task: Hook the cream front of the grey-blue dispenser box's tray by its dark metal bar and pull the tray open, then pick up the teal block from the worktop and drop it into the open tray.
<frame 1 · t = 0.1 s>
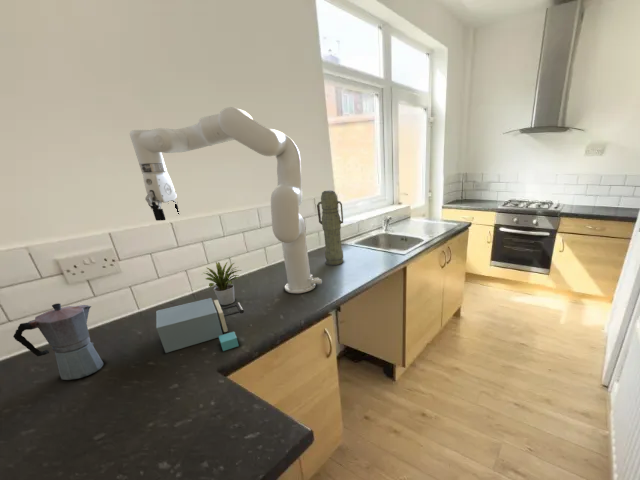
hand: (168, 217, 119), 31 cm above the countertop, tool pointing down, fingers open, 9 cm apart
thermos: (334, 262, 162), on the countertop
house plant: (226, 303, 122), on the countertop
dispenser: (193, 335, 102), on the countertop
drawer: (208, 318, 103), point 4 cm above the countertop, slide at 0.5 cm
teal block: (229, 345, 96), on the countertop
moka pot: (82, 372, 86), on the countertop
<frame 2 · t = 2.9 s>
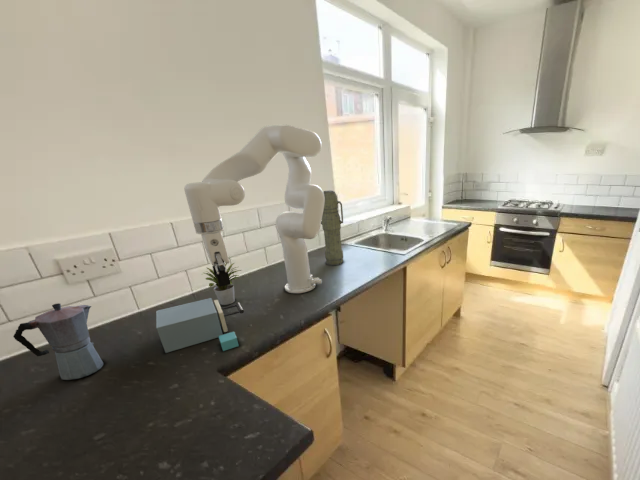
hand: (222, 280, 101), 16 cm above the countertop, tool pointing down, fingers open, 7 cm apart
nothing on the countertop moved.
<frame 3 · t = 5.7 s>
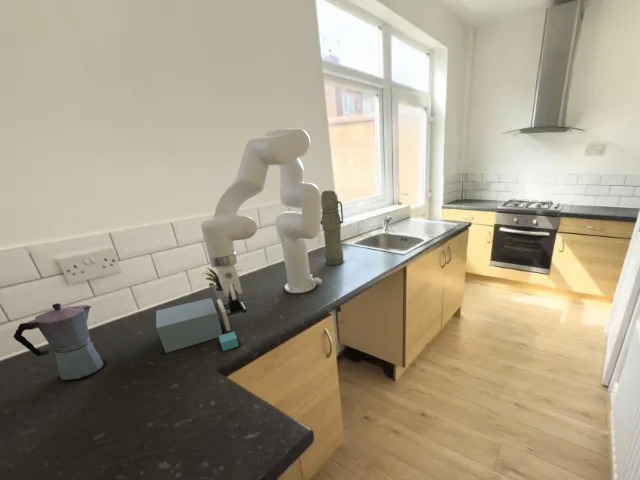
hand: (235, 311, 107), 4 cm above the countertop, tool pointing down, fingers closed
drawer: (211, 317, 103), point 4 cm above the countertop, slide at 1.4 cm, touching gripper
everything else where it was.
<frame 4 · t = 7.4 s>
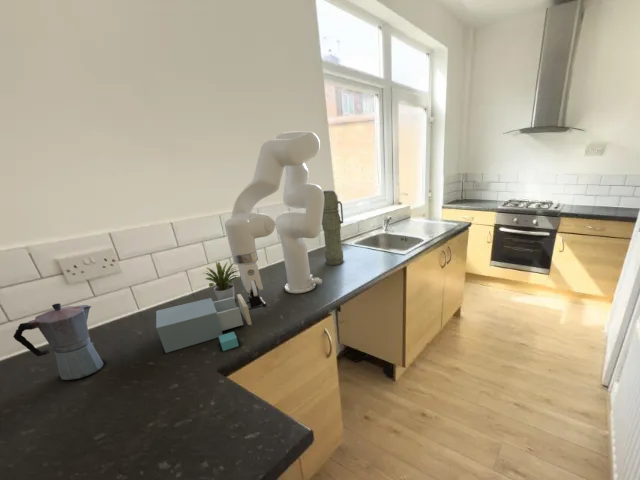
hand: (255, 307, 110), 4 cm above the countertop, tool pointing down, fingers closed
drawer: (233, 312, 106), point 4 cm above the countertop, slide at 7.9 cm
everything else where it was.
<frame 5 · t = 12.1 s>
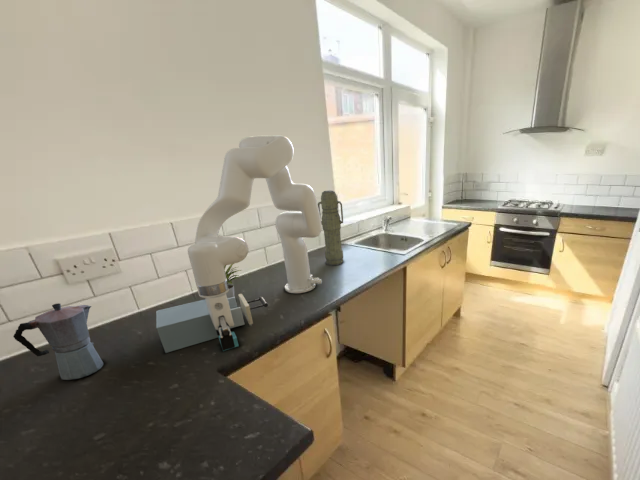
hand: (225, 340, 94), 2 cm above the countertop, tool pointing down, fingers open, 9 cm apart
drawer: (234, 311, 107), point 4 cm above the countertop, slide at 8.3 cm
everything else where it was.
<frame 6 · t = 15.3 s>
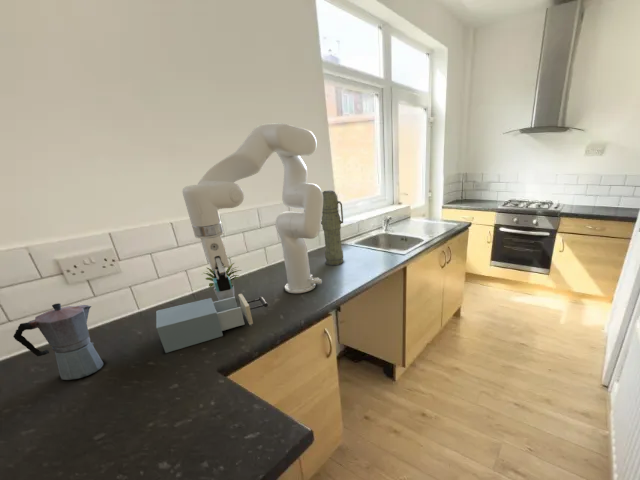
hand: (223, 286, 99), 15 cm above the countertop, tool pointing down, fingers closed on teal block, 4 cm apart
teal block: (223, 287, 99), point 15 cm above the countertop, touching gripper
everything else where it was.
when the fingers open (8 cm above the countertop, at t = 17.9 s): teal block drops 6 cm, resting on drawer.
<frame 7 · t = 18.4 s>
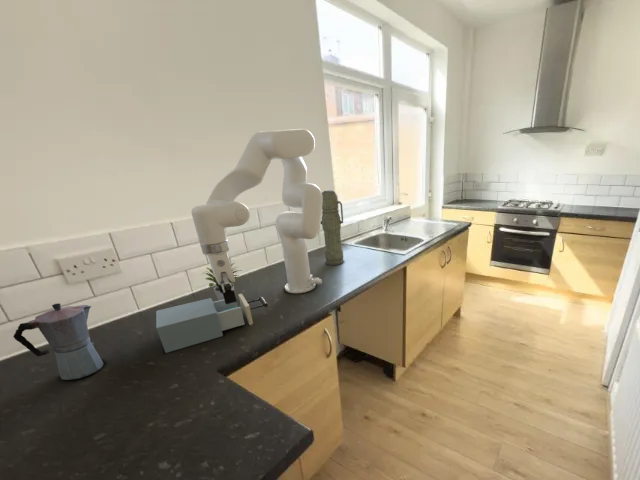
hand: (228, 297, 104), 10 cm above the countertop, tool pointing down, fingers open, 9 cm apart
drawer: (234, 311, 107), point 4 cm above the countertop, slide at 8.3 cm, touching teal block
teal block: (233, 318, 107), point 2 cm above the countertop, touching drawer
everything else where it was.
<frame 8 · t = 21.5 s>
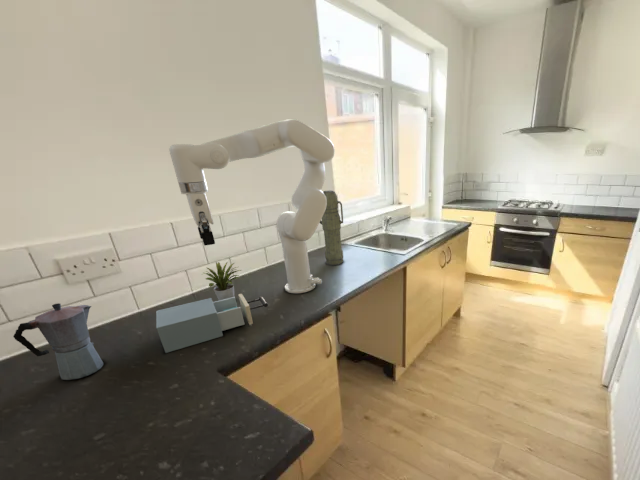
hand: (207, 241, 106), 26 cm above the countertop, tool pointing down, fingers open, 9 cm apart
nothing on the countertop moved.
at the end: drawer slide at 8.3 cm; teal block inside the target area in the drawer (0.2 cm from its centre), point 2.0 cm above the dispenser's base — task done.
